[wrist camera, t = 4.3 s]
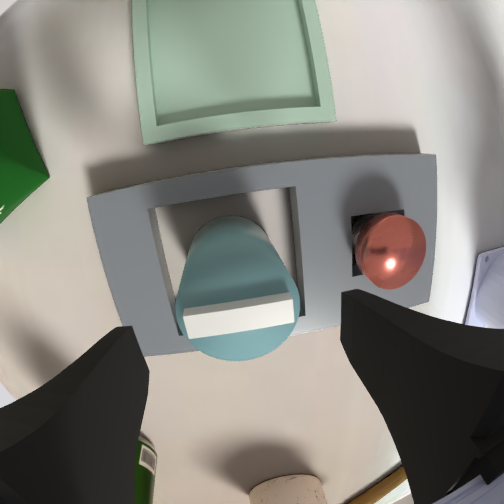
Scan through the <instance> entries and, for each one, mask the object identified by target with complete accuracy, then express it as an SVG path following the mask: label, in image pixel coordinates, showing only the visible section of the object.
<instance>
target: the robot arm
mask: <svg viewBox="0 0 504 504" xmlns="http://www.w3.org/2000/svg"><path fill="white" fill-rule="evenodd" d="M485 326H486V327H487V328H484V327H485ZM340 341H341V343H342V346H343V348H344V350H345V353H346V355H347V357H348V359H349V361H350V363H351V365H352V367H353V368H354V370H355V371H356V373H357V375H358V376H359V378H360V379H361V381H362V383H363V384H364V386H365V387H366V389H367V390H368V392H369V394H370V395H371V397H372V398H373V400H374V402H375V403H376V405H377V406H378V408H379V410H380V412H381V414H382V416H383V418H384V420H385V422H386V424H387V427H388V429H389V431H390V433H391V436H392V438H393V440H394V443H395V445H396V448H397V451H398V453H399V456H400V458H401V461H402V464H403V467H404V470H405V473H406V476H407V479H408V482H409V486H410V490H411V493H412V497H413V500H414V504H504V247H501V248H498V249H494V250H491V251H487V252H484V253H481V254H480V255H479V256H478V259H477V265H476V272H475V278H474V284H473V289H472V294H471V299H470V304H469V309H468V313H467V317H466V322H465V325H464V324H459V323H455V322H451V321H446V320H442V319H439V318H435V317H432V316H429V315H426V314H423V313H420V312H417V311H414V310H411V309H409V308H406V307H403V306H401V305H398V304H396V303H393V302H391V301H389V300H386V299H384V298H381V297H379V296H376V295H374V294H371V293H369V292H366V291H363V290H360V289H354V290H349V291H344V292H341V334H340ZM148 385H149V369H148V366H147V364H146V361H145V359H144V356H143V354H142V351H141V349H140V346H139V343H138V341H137V338H136V335H135V333H134V330H133V327H132V326H123V327H116V328H114V329H113V330H111V331H110V332H109V333H107V334H106V335H105V336H104V337H103V338H101V339H100V340H99V341H98V342H97V343H96V344H94V345H93V346H92V347H91V348H90V349H89V350H87V351H86V352H85V353H84V354H83V355H82V356H81V357H79V358H78V359H77V360H76V361H74V362H73V363H72V364H71V365H69V366H68V367H67V368H66V369H64V370H63V371H62V372H61V373H60V374H58V375H57V376H56V377H54V378H53V379H51V380H50V381H49V382H47V383H45V384H44V385H42V386H41V387H39V388H38V389H36V390H35V391H33V392H31V393H29V394H28V395H26V396H24V397H22V398H20V399H18V400H16V401H15V402H13V403H11V404H9V405H6V406H4V407H2V408H0V504H135V460H136V450H137V444H138V439H139V434H140V429H141V424H142V419H143V415H144V410H145V405H146V401H147V396H148Z"/></svg>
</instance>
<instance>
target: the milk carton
mask: <svg viewBox="0 0 504 504" xmlns="http://www.w3.org/2000/svg"><path fill="white" fill-rule="evenodd" d="M49 178H50V177H49V175H48V172H47V170H46V168H45V166H44V164H43V162H42V159H41V157H40V155H39V153H38V150H37V148H36V146H35V143H34V141H33V139H32V136H31V134H30V131H29V129H28V126H27V124H26V121H25V118H24V116H23V113H22V110H21V108H20V105H19V102H18V99H17V96H16V93H15V90H11V89H0V223H1V222H2V221H3V220H4V219H5V218H6V217H7V216H8V215H9V214H10V213H11V212H12V211H13V210H14V209H15V208H16V207H17V206H18V205H20V204H21V203H22V202H23V201H24V200H25V199H26V198H27V197H28V196H29V195H30V194H31V193H32V192H34V191H35V190H36V189H37V188H38V187H39V186H40V185H42V184H43V183H44V182H45V181H46V180H47V179H49Z"/></svg>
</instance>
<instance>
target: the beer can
mask: <svg viewBox="0 0 504 504" xmlns="http://www.w3.org/2000/svg"><path fill="white" fill-rule="evenodd" d="M156 464H157V453H156V451H155V448H154V447H153V445H152V444H151V443H150V442H149V441H148V440H147V439H145V438H143V437H141V436H139V439H138V444H137V450H136V460H135V504H153V493H154V483H155V473H156Z"/></svg>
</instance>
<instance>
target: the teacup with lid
mask: <svg viewBox="0 0 504 504" xmlns="http://www.w3.org/2000/svg"><path fill="white" fill-rule="evenodd" d="M249 497H250V504H327V501H326V498H325V495H324V491H323V488H322V485H321V482H320V480H319V479H318V478H316V477H314V476H311V475H288V476H282V477H278V478H274V479H271V480H268V481H265V482H263V483H261V484H259V485H257V486H256V487H254V488H253V489H252V490H251V492H250V495H249Z"/></svg>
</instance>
